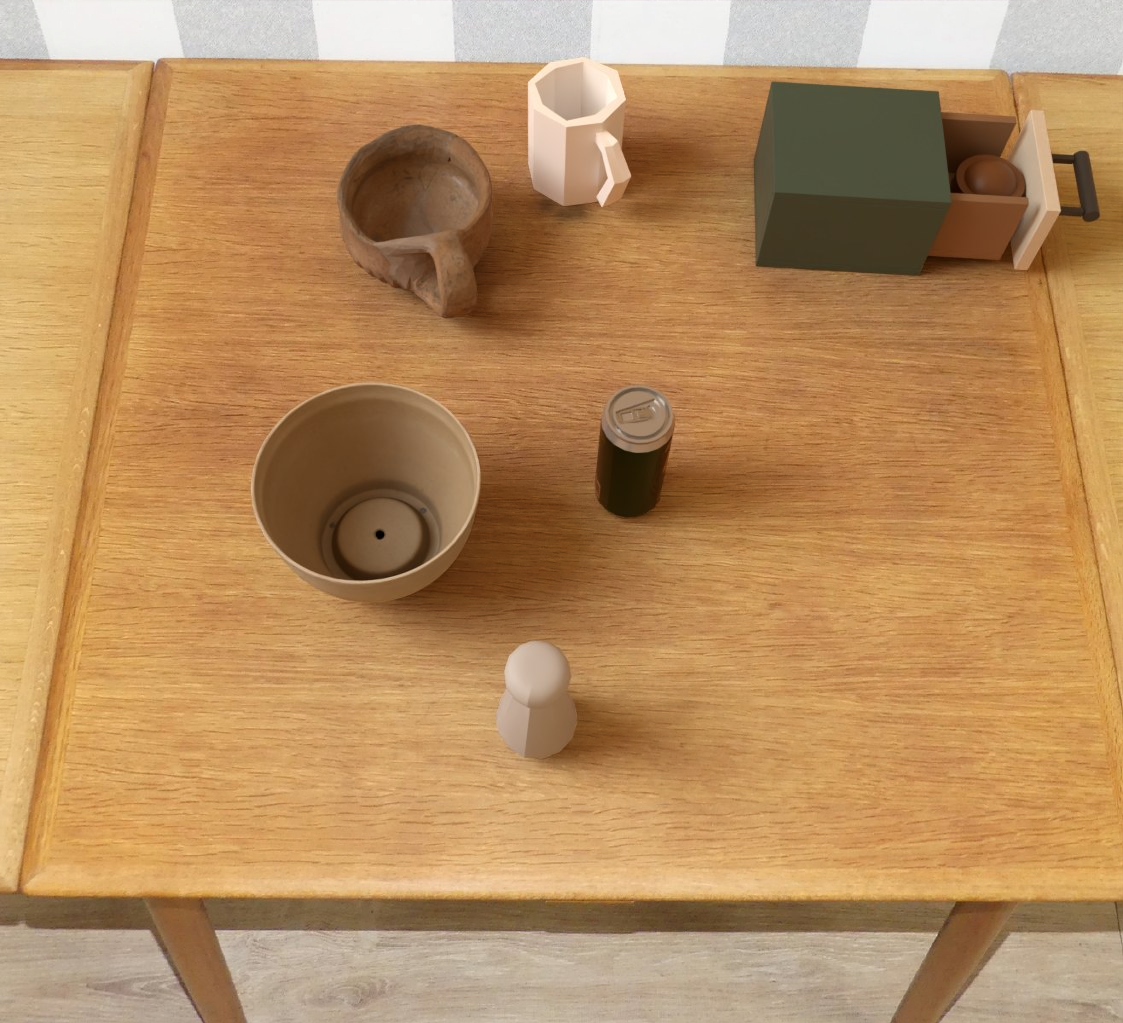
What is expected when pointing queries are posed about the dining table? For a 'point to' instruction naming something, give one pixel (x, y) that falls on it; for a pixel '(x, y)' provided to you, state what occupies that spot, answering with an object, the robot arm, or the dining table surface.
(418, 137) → the brown clay cup
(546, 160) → the mug
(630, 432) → the beer can
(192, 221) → the dining table surface
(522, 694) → the salt shaker
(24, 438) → the dining table surface
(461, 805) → the dining table surface
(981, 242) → the drawer
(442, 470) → the planter bowl
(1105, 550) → the dining table surface
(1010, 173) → the brown dome knob
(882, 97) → the cabinet
